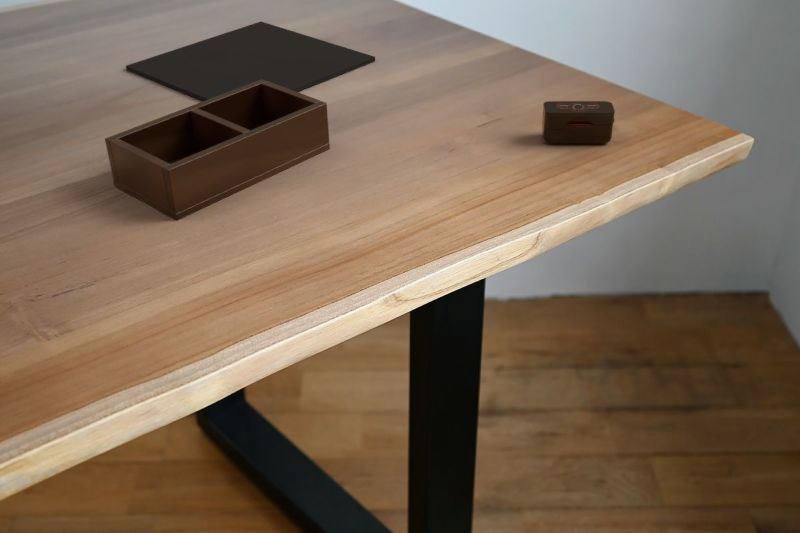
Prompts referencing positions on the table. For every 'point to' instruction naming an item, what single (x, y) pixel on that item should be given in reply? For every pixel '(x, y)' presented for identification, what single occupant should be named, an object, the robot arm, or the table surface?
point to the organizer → (217, 147)
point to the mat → (249, 62)
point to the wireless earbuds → (577, 121)
